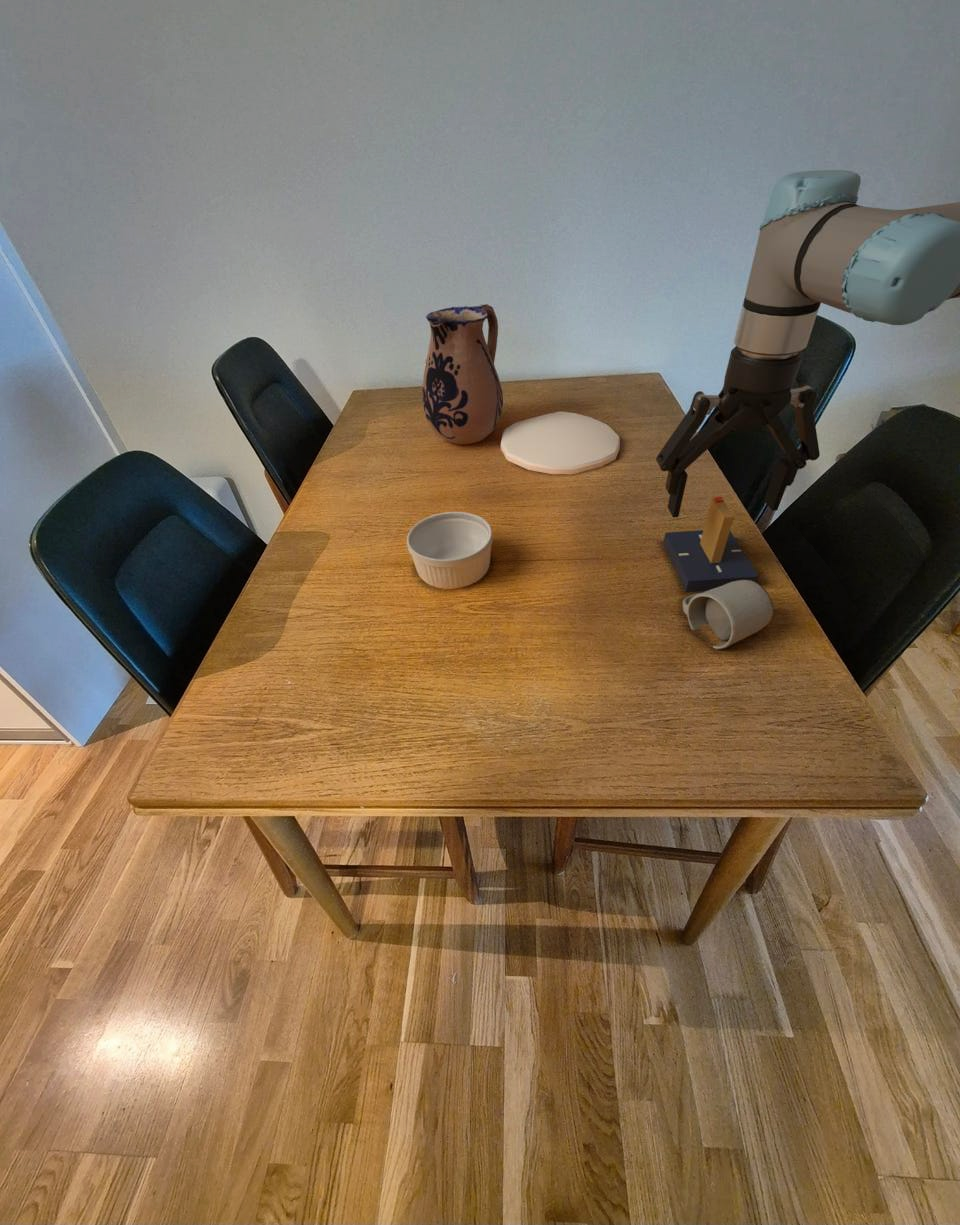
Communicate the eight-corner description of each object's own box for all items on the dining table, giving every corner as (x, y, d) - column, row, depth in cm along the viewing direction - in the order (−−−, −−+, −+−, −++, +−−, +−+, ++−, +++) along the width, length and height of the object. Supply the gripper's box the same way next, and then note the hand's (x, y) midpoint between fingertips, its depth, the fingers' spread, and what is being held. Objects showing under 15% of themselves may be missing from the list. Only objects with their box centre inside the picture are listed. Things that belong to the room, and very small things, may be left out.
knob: (720, 562, 78) (734, 515, 72) (710, 563, 78) (724, 515, 73) (708, 542, 82) (721, 495, 76) (699, 543, 82) (712, 496, 76)
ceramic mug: (768, 637, 71) (786, 593, 66) (723, 661, 68) (738, 617, 63) (708, 593, 78) (720, 551, 73) (665, 614, 76) (674, 571, 70)
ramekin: (456, 536, 93) (452, 501, 88) (511, 566, 86) (510, 531, 81) (397, 572, 87) (389, 537, 82) (451, 608, 79) (446, 572, 75)
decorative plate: (481, 422, 116) (578, 397, 123) (482, 440, 119) (577, 414, 126) (535, 470, 99) (646, 438, 106) (535, 490, 102) (643, 457, 109)
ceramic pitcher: (413, 446, 120) (392, 324, 102) (461, 409, 132) (450, 295, 115) (480, 460, 113) (471, 331, 95) (524, 420, 125) (522, 300, 108)
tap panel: (753, 592, 78) (759, 575, 75) (684, 596, 78) (688, 580, 76) (724, 543, 86) (729, 527, 84) (662, 547, 87) (665, 531, 84)
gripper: (862, 329, 63) (799, 488, 77) (648, 346, 63) (626, 500, 78) (899, 350, 57) (824, 517, 72) (665, 368, 58) (638, 530, 73)
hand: (721, 508), depth 75 cm, fingers open, 13 cm apart
